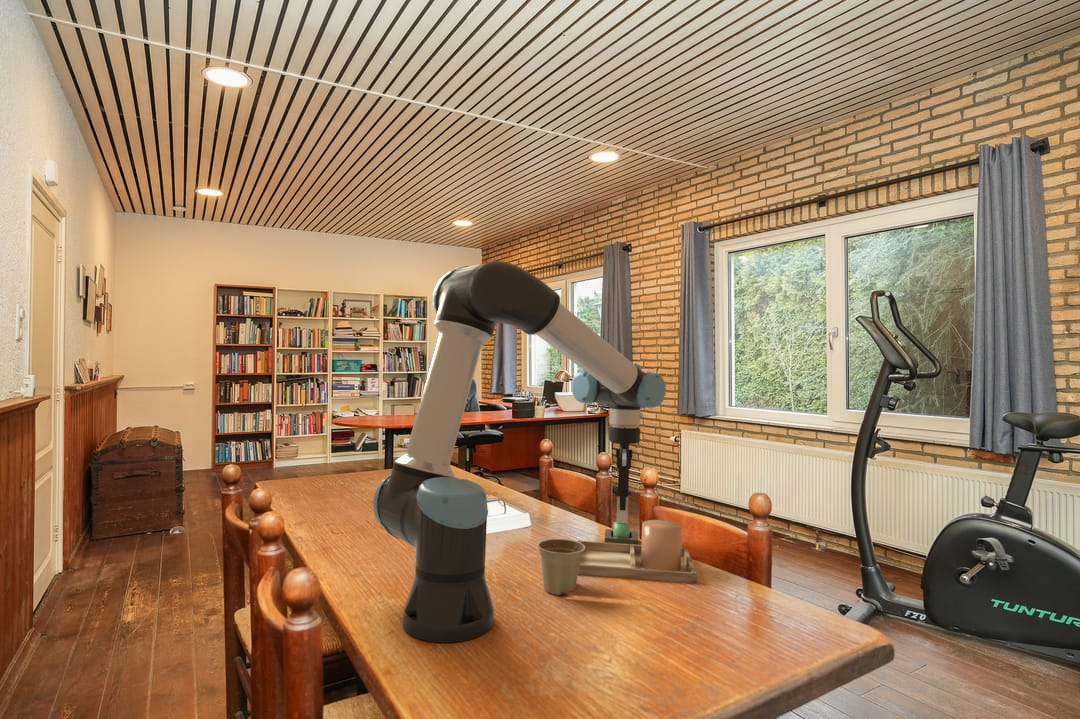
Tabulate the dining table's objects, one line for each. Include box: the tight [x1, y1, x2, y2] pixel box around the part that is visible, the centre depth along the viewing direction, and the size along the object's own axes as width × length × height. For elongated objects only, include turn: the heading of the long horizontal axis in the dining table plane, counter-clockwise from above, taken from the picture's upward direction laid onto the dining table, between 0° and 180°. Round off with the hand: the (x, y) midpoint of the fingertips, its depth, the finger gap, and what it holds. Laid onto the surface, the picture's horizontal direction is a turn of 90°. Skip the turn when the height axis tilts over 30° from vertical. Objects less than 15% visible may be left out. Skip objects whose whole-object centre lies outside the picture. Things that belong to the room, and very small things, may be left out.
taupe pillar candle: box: [640, 519, 683, 571], centre depth 131 cm, size 9×9×9 cm
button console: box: [604, 528, 640, 545], centre depth 147 cm, size 8×8×3 cm
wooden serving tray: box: [577, 540, 698, 584], centre depth 132 cm, size 18×25×3 cm
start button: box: [612, 520, 631, 538], centre depth 147 cm, size 4×4×5 cm
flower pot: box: [536, 538, 585, 596], centre depth 118 cm, size 9×9×9 cm
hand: (622, 522), depth 147 cm, fingers closed
